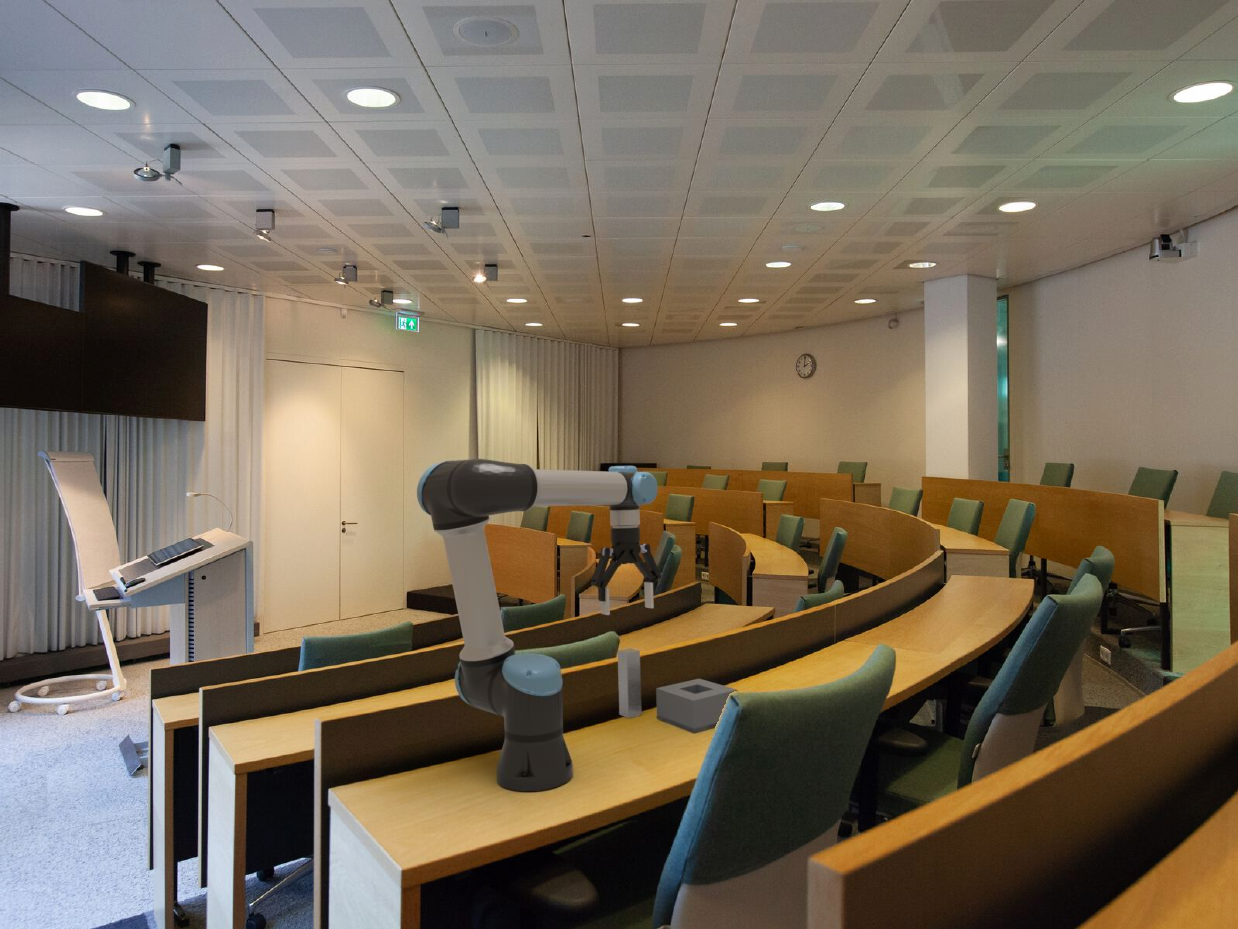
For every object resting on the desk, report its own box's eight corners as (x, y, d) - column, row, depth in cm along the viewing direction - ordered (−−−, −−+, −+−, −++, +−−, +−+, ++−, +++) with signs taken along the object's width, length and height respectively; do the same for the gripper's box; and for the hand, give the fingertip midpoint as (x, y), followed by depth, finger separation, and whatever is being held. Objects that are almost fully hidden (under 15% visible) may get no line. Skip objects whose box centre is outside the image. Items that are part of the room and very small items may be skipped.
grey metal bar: (628, 718, 184) (626, 653, 184) (619, 714, 187) (617, 650, 188) (641, 715, 186) (639, 651, 187) (632, 711, 189) (630, 648, 190)
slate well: (694, 733, 171) (693, 700, 171) (657, 719, 183) (656, 688, 183) (738, 721, 179) (737, 689, 179) (700, 708, 191) (699, 678, 191)
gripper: (655, 523, 198) (657, 603, 198) (575, 529, 184) (578, 615, 183) (672, 524, 192) (675, 606, 192) (591, 530, 178) (594, 619, 177)
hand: (627, 611), depth 188 cm, fingers open, 13 cm apart
